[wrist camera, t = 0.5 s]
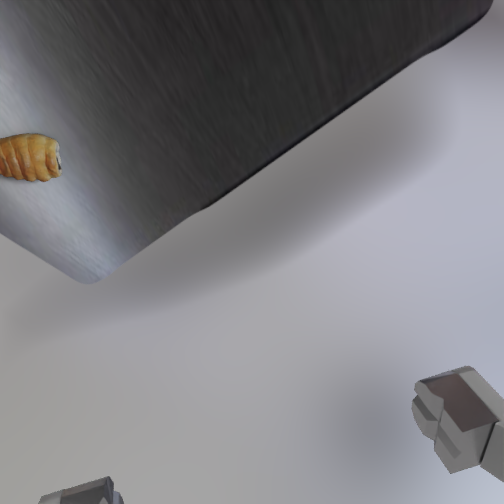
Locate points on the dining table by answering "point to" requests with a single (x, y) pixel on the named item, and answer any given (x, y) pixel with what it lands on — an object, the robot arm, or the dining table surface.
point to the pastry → (30, 157)
